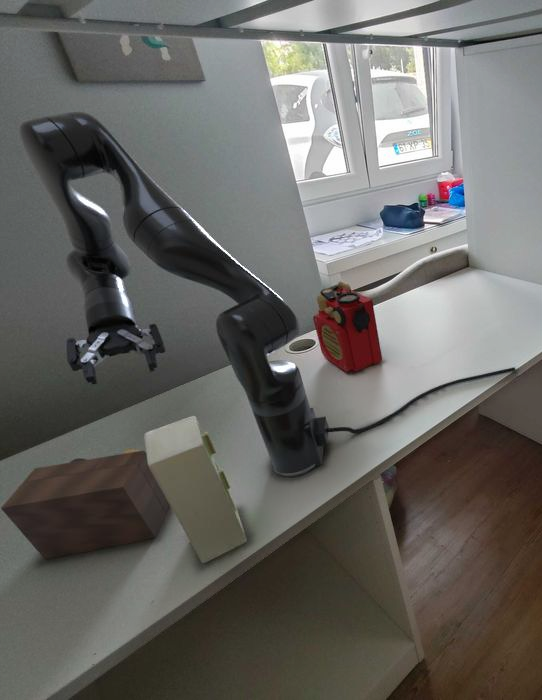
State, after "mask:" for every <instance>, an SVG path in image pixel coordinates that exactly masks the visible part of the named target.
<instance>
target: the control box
mask: <svg viewBox="0 0 542 700" xmlns="http://www.w3.org/2000/svg"><path fill="white" fill-rule="evenodd" d="M170 508H171V506H170V504H169V502H168V501H167V499H166V497H165V495H164V493H163V492H162V490H161V488H160V486H159V484H158V483H157V481H156V479H155V477H154V476H153V474H152V472H151V470H150V468H149V466H148V462H147V454H146V449H145V450H139V451H138V452H131V453H125V454H122V453H119V454H113V455H108V456H107V455H106V456H100V457H96V458H95V457H94V458H89V459H87V458H74V459H71V460H70V461H69V462H66V463H59V464H58V463H57V464H53V465H47V466H40V467H35V468H34V469H33V470H32V471H31V472H30V473H29V475H28V476H27V477H26V478H25V479H24V480H23V481H22V483H21V484H20V485H19V486H18V487H17V488H16V490H15V491H13V493H12V495H10V497H9V498H8V499H7V500H6V501H5V503H4V504H3V505H2V506H1V507H0V509H1V510H2V512H3V513H4V514H5V515H6V517H8V519H9V520H10V521H11V522H12V523H13V524H14V525H15V527H16V528H17V529H18V530H19V531H20V533H21V534H22V535H23V536H24V537H25V538H26V540H27V541H28V542H29V543H30V544H31V545H32V546H33V548H34V549H35V550H36V551H37V552H38V553H39V555H40V556H41V557H42V558H43V559H44V560H51V559H55V558H56V559H57V558H61V557H67V556H70V555H76V554H82V553H86V552H87V553H88V552H92V551H97V550H103V549H107V548H108V549H109V548H113V547H118V546H124V545H128V544H129V545H130V544H133V543H139V542H143V541H148V540H154V539H156V538H157V536H158V534H159V532H160V529H161V527H162V525H163V523H164V520H165V518H166V516H167V514H168V512H169V509H170Z"/></svg>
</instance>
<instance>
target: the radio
mask: <svg viewBox="0 0 542 700" xmlns="http://www.w3.org/2000/svg"><path fill="white" fill-rule="evenodd" d="M316 302H317V307H318V313H317V314H314V315H313V317H312V319H313V320H312V321H313V324H314V327H315V332H316V335H317V336H316V337H317V340H318V344H319V348H320V350H321V353H322V355H323V358H325V359H327V360H328V361H330V362H331V363H332V364H334V365H335V366H336V367H338V368H340V369H341V370H343V371H344V372H349V371H351V370H352V371H353V372H358V371H360V370H361V371H362V369H364V368H365V369H366V368H367V367H370V366H371V365H377V364H379V363H382V362H383V355H382V350H381V343H380V338H379V332H378V327H377V320H376V315H375V313H376V312H375V308H374V302H373V299H371V298H369V297H367V296H364V295H362V293H361V294H360V293H359V292H356V291H355V290H352V288H351V286H350V285H349V284H348V283H347V282H343V281H341V280H340V281H338V282H337V284H334V285H332V286H329V287H328V288H322V290H320V291H319V293H318V295H317V296H316Z"/></svg>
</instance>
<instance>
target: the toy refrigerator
mask: <svg viewBox="0 0 542 700" xmlns="http://www.w3.org/2000/svg"><path fill="white" fill-rule="evenodd" d="M143 440H144V446H145V452H146V454H147V462H148V466H149V468H150V470H151V472H152V474H153V476H154V477H155V479H156V481H157V483H158V484H159V486H160V488H161V490H162V492H163V493H164V495H165V497H166V499H167V501H168V502H169V504H170V508H171V510H172V511H173V513H174V515H175V517H176V519H177V520H178V522H179V524H180V526H181V527H182V529H183V531H184V533H185V535H186V537H187V539H188V541H189V542H190V543H191V544H190V545H191V546H192V548H193V550H194V551H195V553H196V555H197V556H198V558H199V560H200V562H201V563H202V564H206V563H208V562H210V561H212V560H214V559H216V558H218V557H220V556H222V555H224V554H226V553H228V552H230V551H232V550H234V549H236V548H238V547H240V546H242V545H243V544H246V543H247V542H248V539H247V535H246V533H245V529H244V526H243V523H242V520H241V518H240V517H241V516H240V514H239V511H238V509H237V506H236V504H235V501H234V499H233V498H232V496H231V493H230V491H229V489H231V486H230V484H229V481H228V479H227V477H226V474H225V471H224V469H223V468H219V465H218V464H217V462H216V460H215V456H214V455H215V454H216V453H217V450H216V448H215V446H214V443H213V442H212V439H211V437H210V435H209V432H208V431H204V432H203V430H202V428H201V425H200V423H199V421H198V419H197V417H196V416H195V415H191V416H189V417H185V418H183V419H180V420H177V421H174V422H172V423H169V424H166V425H163V426H161V427H157V428H155V429H152V430H149V431H147V432H145V433H144V434H143Z"/></svg>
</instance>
